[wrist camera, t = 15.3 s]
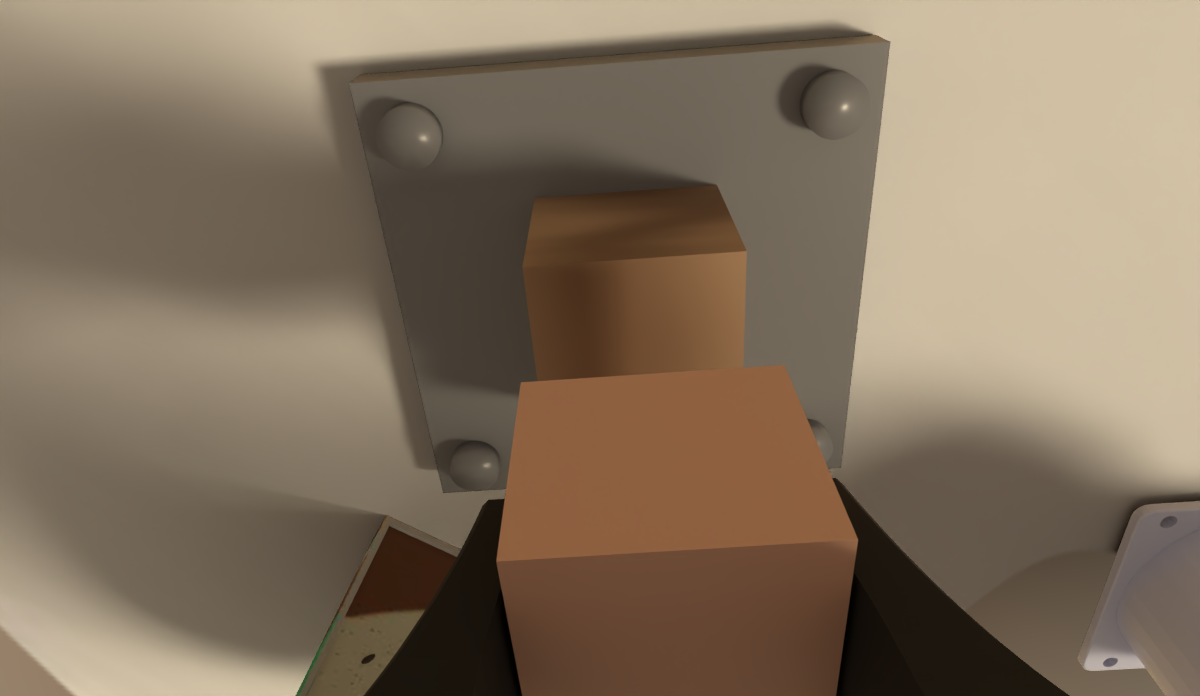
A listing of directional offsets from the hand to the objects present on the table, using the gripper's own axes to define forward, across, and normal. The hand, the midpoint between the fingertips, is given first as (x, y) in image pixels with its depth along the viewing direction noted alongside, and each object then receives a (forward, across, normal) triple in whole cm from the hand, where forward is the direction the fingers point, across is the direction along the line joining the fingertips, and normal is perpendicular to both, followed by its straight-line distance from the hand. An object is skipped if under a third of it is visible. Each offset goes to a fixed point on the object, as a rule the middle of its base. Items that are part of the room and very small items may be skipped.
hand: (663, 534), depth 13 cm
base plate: (+9, 0, 0) cm, 9 cm away
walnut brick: (+8, 0, 0) cm, 8 cm away
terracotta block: (+1, 0, 0) cm, 1 cm away
